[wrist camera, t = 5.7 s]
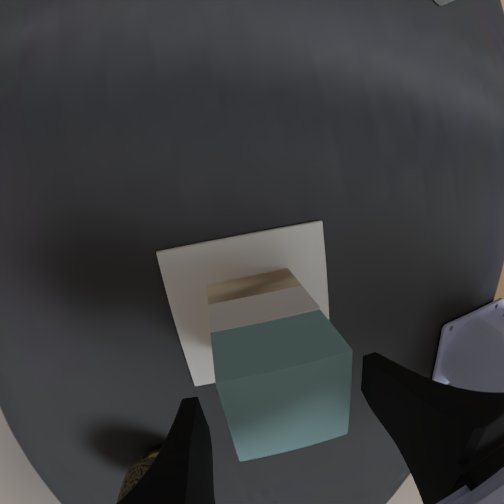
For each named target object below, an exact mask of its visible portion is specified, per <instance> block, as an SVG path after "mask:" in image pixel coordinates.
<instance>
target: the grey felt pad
mask: <svg viewBox="0 0 504 504" xmlns="http://www.w3.org/2000/svg"><path fill="white" fill-rule="evenodd" d="M156 254H157V258H158V262H159V266H160V270H161V274H162V278H163V282H164V286H165V290H166V293H167V297H168V301H169V304H170V308H171V311H172V315H173V318H174V322H175V325H176V329H177V332H178V335H179V339H180V342H181V345H182V348H183V351H184V355H185V358H186V361H187V364H188V367H189V370H190V373H191V376H192V379H193V382H194V385H195V386H200V385H206V384H212V383H215V374H214V364H213V355H212V345H211V334H210V333H211V328H210V317H209V306H208V295H207V284H212V283H217V282H222V281H227V280H232V279H237V278H242V277H247V276H252V275H257V274H262V273H267V272H272V271H277V270H282V269H287V268H288V269H289V270H290V271H291V273H292V274H293V275H294V276H295V277H296V279H297V280H298V281H299V282H300V284H301V285H302V286H303V287H304V288H305V289H306V291H307V292H308V293H309V294H310V296H311V297H312V298H313V299H314V300H315V302H316V303H317V304H318V305H319V307H320V308H321V311H322V312H323V314H324V315H325V316H326V317H327V319H328V320H329V303H328V286H327V271H326V258H325V246H324V234H323V224H322V221H321V220H319V221H313V222H308V223H302V224H297V225H291V226H286V227H280V228H275V229H269V230H264V231H259V232H253V233H248V234H243V235H237V236H232V237H227V238H222V239H216V240H211V241H206V242H201V243H196V244H191V245H186V246H180V247H175V248H170V249H165V250H160V251H157V252H156Z"/></svg>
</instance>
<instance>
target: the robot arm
mask: <svg viewBox="0 0 504 504" xmlns="http://www.w3.org/2000/svg"><path fill="white" fill-rule="evenodd" d="M503 304H504V299H502V298H499V299H498V300H495V301H493V302H491V303H489V304H487V305H485V306H483V307H481V308H479V309H477V310H475V311H473V312H471V313H469V314H467V315H465V316H462V317H460V318H458V319H456V320H454V321H451V322H449V323H447V324H445V325H444V326H443V327H442V330H441V336H440V342H439V348H438V353H437V358H436V363H435V368H434V372H433V377H432V380H431V379H429V378H427V377H424V376H422V375H419V374H417V373H415V372H413V371H411V370H409V369H407V368H405V367H403V366H401V365H399V364H397V363H395V362H393V361H391V360H389V359H388V358H386V357H384V356H382V355H380V354H378V353H376V352H374V353H371V354H368V355H365V356H363V368H362V384H361V390H362V392H363V394H364V396H365V399H366V400H367V402H368V404H369V406H370V408H371V409H372V411H373V412H374V414H375V415H376V416H377V418H378V419H379V421H380V422H381V423H382V425H383V426H384V428H385V429H386V430H387V432H388V433H389V435H390V436H391V437H392V439H393V440H394V442H395V443H396V445H397V447H398V448H399V450H400V452H401V454H402V456H403V458H404V460H405V462H406V464H407V466H408V468H409V470H410V472H411V474H412V476H413V478H414V481H415V483H416V485H417V488H418V490H419V493H420V496H421V498H422V501H423V504H504V308H503ZM448 383H451V384H452V385H453V386H454V387H453V386H450V385H446V384H448ZM117 504H215V499H214V488H213V460H212V444H211V437H210V431H209V427H208V424H207V421H206V419H205V416H204V413H203V411H202V408H201V405H200V402H199V400H198V397H192V398H185V399H183V400H182V401H181V404H180V407H179V409H178V412H177V415H176V417H175V420H174V422H173V425H172V427H171V429H170V431H169V434H168V436H167V438H166V440H165V442H164V444H163V445H162V447H161V449H160V451H159V453H158V454H157V456H156V458H155V459H154V461H153V462H152V464H151V465H150V467H149V468H148V470H147V471H146V472H145V474H144V475H143V476H142V478H141V479H140V480H139V481H138V482H137V484H136V485H135V486H134V487H133V488H132V489H131V490H130V491H129V492H128V493H127V494H126V495H125V496H124V497H123V498H122V499H121V500H120V501H119V502H118V503H117Z"/></svg>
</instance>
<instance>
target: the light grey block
mask: <svg viewBox="0 0 504 504" xmlns="http://www.w3.org/2000/svg"><path fill="white" fill-rule="evenodd" d="M208 306H209V317H210V328H211V332H216V331H222V330H227V329H232V328H237V327H242V326H247V325H252V324H257V323H262V322H266V321H271V320H276V319H280V318H285V317H289V316H294V315H298V314H302V313H306V312H311V311H315V310H319V309H320V310H321V308H320V307H319V305H318V304H317V303H316V302H315V300H314V299H313V298H312V297H311V296H310V294H309V293H308V292H307V291H306V289H305V288H304V287H303V286H302V285H300V286H296V287H291V288H287V289H282V290H277V291H273V292H268V293H263V294H259V295H254V296H249V297H244V298H239V299H234V300H229V301H224V302H219V303H214V304H208Z"/></svg>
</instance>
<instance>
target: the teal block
mask: <svg viewBox="0 0 504 504" xmlns="http://www.w3.org/2000/svg"><path fill="white" fill-rule="evenodd" d="M210 334H211V345H212V355H213V364H214V374H215V383H216V386H217V390H218V393H219V397H220V400H221V404H222V407H223V410H224V414H225V417H226V420H227V423H228V427H229V430H230V433H231V436H232V439H233V442H234V445H235V449H236V452H237V455H238V458H239V461H245V460H251V459H256V458H261V457H265V456H270V455H274V454H279V453H283V452H287V451H291V450H295V449H299V448H302V447H306V446H309V445H313V444H316V443H320V442H323V441H326V440H330V439H333V438H336V437H339V436H342V435H345V434H348V423H349V410H350V396H351V378H352V353H353V350H352V349H351V347H350V346H349V345H348V344H347V342H346V341H345V340H344V339H343V337H342V336H341V335H340V334H339V332H338V331H337V330H336V329H335V327H334V326H333V325H332V324H331V322H330V321H329V320H328V319H327V317H326V316H325V315H324V314H323V312H322V311H321V310H320V309H319V310H315V311H311V312H306V313H302V314H298V315H294V316H289V317H285V318H280V319H276V320H271V321H266V322H262V323H257V324H252V325H247V326H242V327H237V328H232V329H227V330H222V331H216V332H211V333H210Z"/></svg>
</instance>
